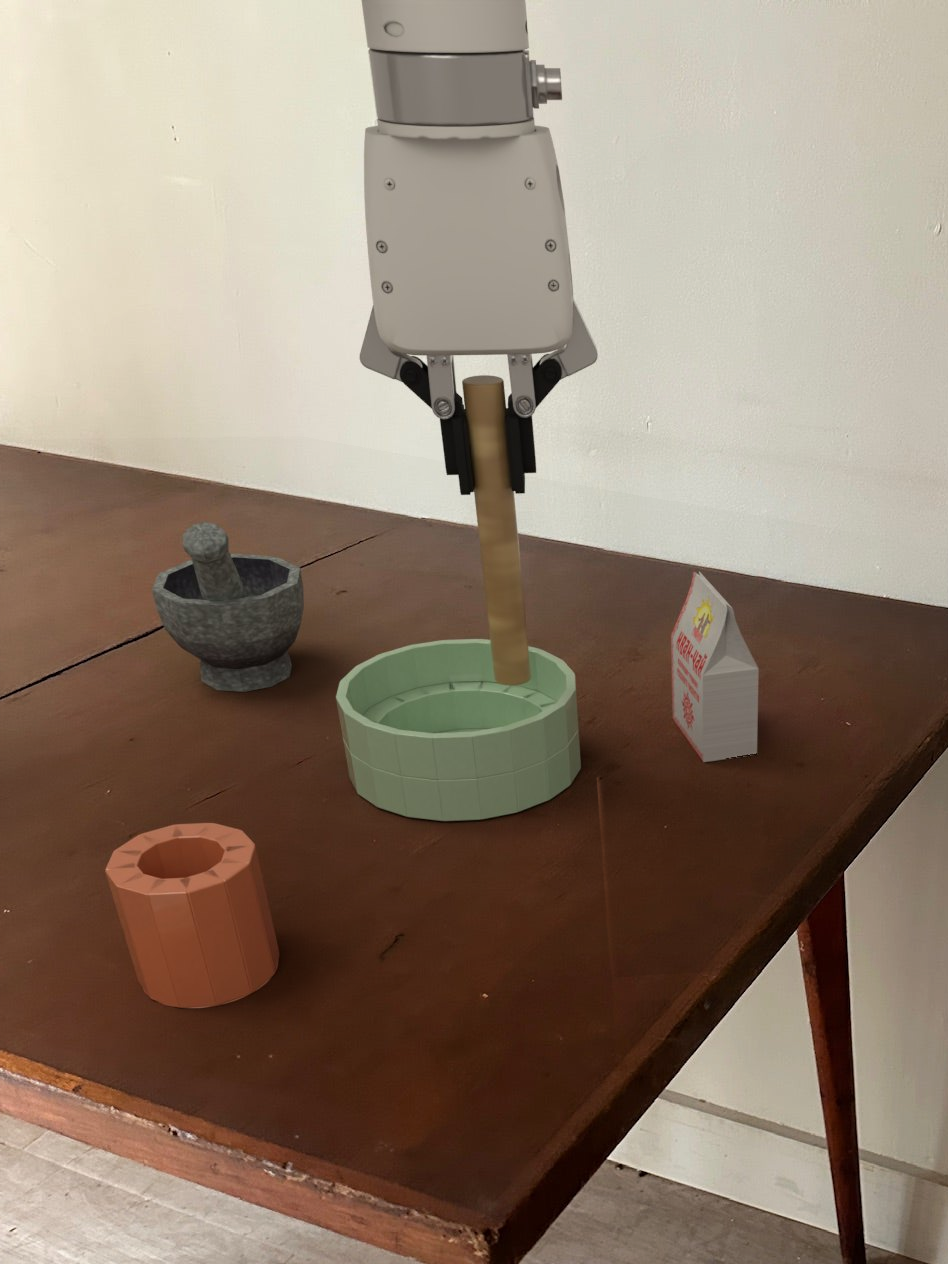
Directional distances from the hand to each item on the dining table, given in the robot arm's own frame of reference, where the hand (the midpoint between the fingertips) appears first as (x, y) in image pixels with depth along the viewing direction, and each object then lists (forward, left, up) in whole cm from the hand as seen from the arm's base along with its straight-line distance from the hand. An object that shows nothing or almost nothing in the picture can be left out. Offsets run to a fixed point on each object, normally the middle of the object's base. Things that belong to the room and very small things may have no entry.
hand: (493, 484), depth 80 cm
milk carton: (+13, +4, -18) cm, 22 cm away
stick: (0, 0, -12) cm, 12 cm away
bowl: (-3, 0, -18) cm, 18 cm away
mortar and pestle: (-19, +16, -18) cm, 31 cm away
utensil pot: (-15, -21, -18) cm, 31 cm away
